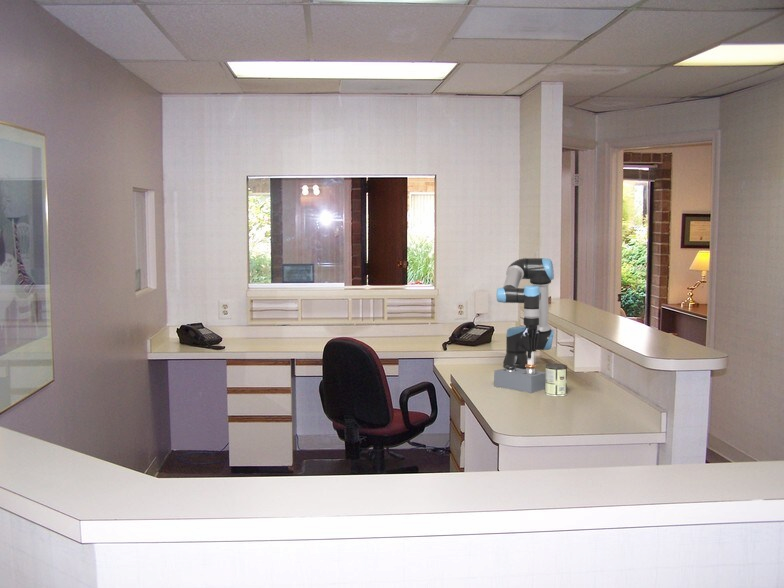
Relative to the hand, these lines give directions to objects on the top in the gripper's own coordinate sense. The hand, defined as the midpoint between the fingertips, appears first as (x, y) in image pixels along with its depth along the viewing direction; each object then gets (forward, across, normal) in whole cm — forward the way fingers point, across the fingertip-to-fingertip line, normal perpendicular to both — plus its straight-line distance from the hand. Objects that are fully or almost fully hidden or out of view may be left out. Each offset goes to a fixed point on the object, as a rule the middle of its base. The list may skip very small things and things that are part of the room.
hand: (530, 364), depth 354 cm
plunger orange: (+9, 0, 0) cm, 9 cm away
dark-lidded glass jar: (+11, 0, -12) cm, 16 cm away
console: (+12, 0, -6) cm, 14 cm away
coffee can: (+13, +1, +15) cm, 20 cm away
